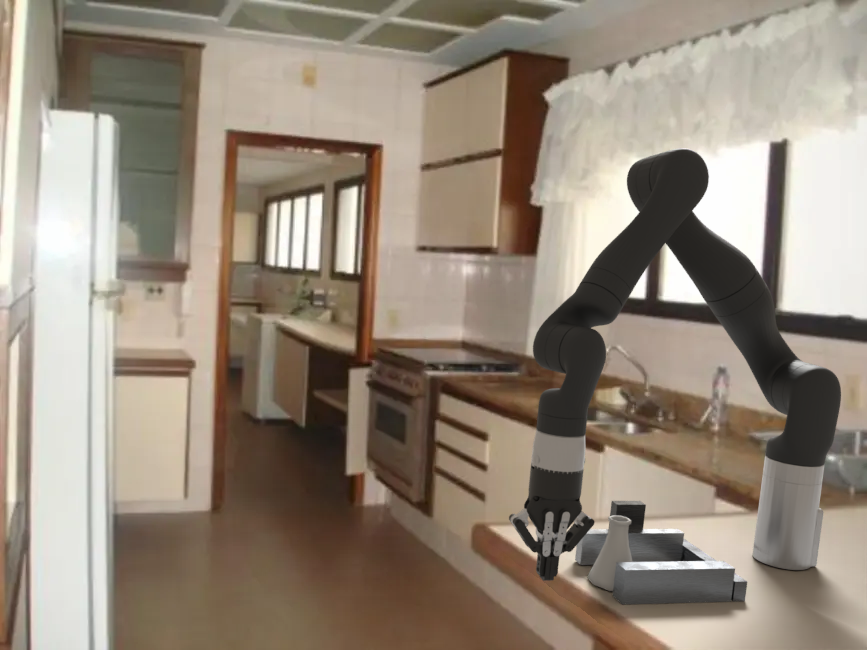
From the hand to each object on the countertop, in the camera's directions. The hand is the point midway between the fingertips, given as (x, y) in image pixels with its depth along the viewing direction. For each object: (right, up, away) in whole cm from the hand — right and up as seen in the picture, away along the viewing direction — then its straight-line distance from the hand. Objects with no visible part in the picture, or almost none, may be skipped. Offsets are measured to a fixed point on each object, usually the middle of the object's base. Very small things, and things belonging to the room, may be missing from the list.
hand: (545, 578), depth 139 cm
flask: (+10, -2, +3) cm, 11 cm away
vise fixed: (+17, -2, +7) cm, 19 cm away
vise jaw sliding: (+14, -1, +12) cm, 19 cm away
